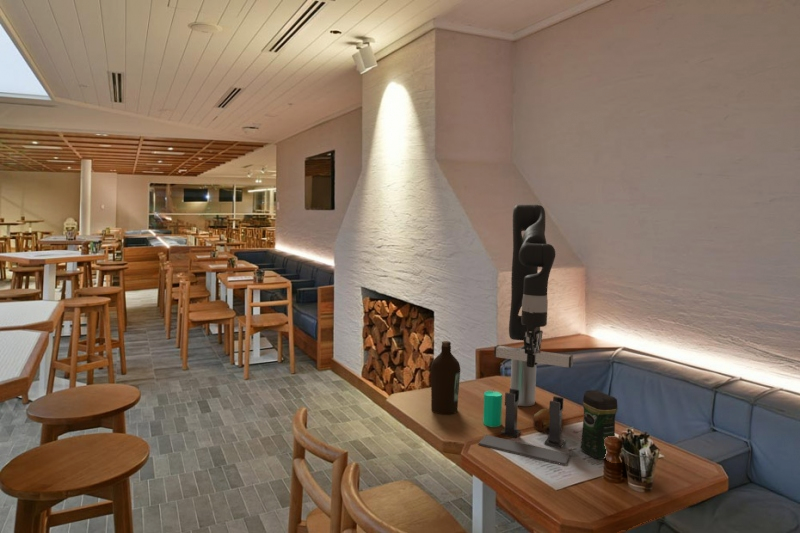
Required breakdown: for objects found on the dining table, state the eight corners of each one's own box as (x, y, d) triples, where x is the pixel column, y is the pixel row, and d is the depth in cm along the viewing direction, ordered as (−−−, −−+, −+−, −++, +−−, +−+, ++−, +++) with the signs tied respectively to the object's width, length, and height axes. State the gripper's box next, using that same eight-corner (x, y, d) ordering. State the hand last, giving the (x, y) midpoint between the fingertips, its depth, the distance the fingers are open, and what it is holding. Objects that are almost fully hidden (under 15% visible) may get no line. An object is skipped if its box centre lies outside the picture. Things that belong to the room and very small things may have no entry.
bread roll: (563, 437, 176) (566, 413, 178) (560, 435, 167) (563, 409, 169) (533, 432, 180) (536, 408, 182) (529, 429, 171) (532, 404, 174)
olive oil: (427, 413, 185) (429, 344, 182) (431, 403, 195) (433, 337, 193) (457, 416, 183) (460, 346, 180) (460, 406, 193) (462, 339, 191)
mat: (486, 436, 166) (486, 434, 166) (570, 455, 154) (570, 453, 153) (478, 444, 160) (478, 442, 160) (565, 465, 147) (565, 463, 147)
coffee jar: (619, 458, 153) (623, 396, 151) (597, 462, 150) (601, 399, 148) (596, 444, 162) (600, 386, 160) (575, 448, 159) (578, 388, 157)
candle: (500, 427, 173) (502, 392, 172) (482, 426, 175) (484, 391, 174) (501, 421, 179) (502, 387, 178) (483, 419, 181) (484, 385, 179)
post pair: (505, 429, 172) (507, 387, 171) (564, 441, 163) (566, 398, 162) (500, 434, 168) (502, 392, 166) (560, 448, 158) (563, 403, 157)
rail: (497, 354, 166) (497, 345, 165) (572, 365, 154) (573, 355, 154) (494, 356, 163) (494, 347, 163) (570, 367, 152) (571, 357, 152)
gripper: (528, 305, 165) (526, 359, 167) (515, 311, 153) (513, 368, 154) (552, 307, 162) (549, 362, 163) (541, 313, 150) (538, 372, 151)
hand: (532, 365), depth 159 cm, fingers closed on rail, 3 cm apart
